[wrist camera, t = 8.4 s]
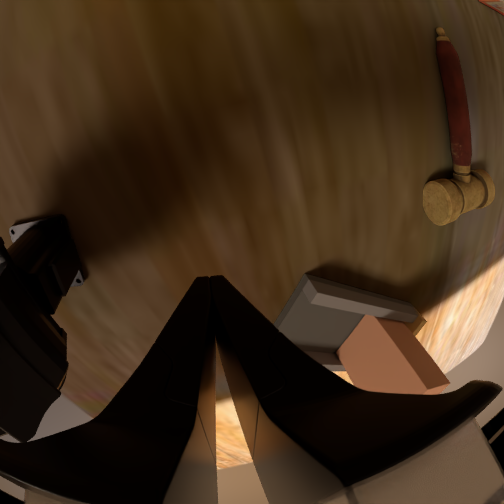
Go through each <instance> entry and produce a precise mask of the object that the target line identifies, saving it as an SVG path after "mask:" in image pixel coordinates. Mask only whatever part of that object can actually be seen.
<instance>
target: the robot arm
mask: <svg viewBox="0 0 504 504" xmlns="http://www.w3.org/2000/svg"><path fill="white" fill-rule="evenodd" d="M59 219H60V220H61V221H62V223H60V222H59ZM13 230H14V231H15V232H14V231H13ZM9 233H10V236H11V239H12V242H13V244H12V245H11V246H10V247H9V248H8V249H6V248H5V246H4V241H3V239H2V237H0V436H3V435H6V434H9V435H11V436H12V437H13V438H15V439H16V440H18V441H20V442H21V443H12V442H7V441H4V440H2V439H0V476H2V477H3V478H5V479H7V480H9V481H11V482H13V483H14V484H16V485H18V486H20V487H22V488H24V489H25V500H24V501H22V500H20V499H18V498H16V497H14V496H12V495H10V494H8V493H6V492H4V491H2V490H1V489H0V504H218V493H217V466H216V416H215V372H216V343H217V347H218V351H219V354H220V358H221V362H222V365H223V369H224V372H225V376H226V379H227V383H228V386H229V389H230V393H231V396H232V399H233V402H234V406H235V409H236V412H237V415H238V418H239V421H240V424H241V427H242V431H243V434H244V436H245V439H246V442H247V445H248V448H249V451H250V454H251V457H252V459H253V462H254V465H255V468H256V471H257V473H258V476H259V479H260V481H261V484H262V487H263V489H264V492H265V494H266V497H267V499H268V502H269V504H504V408H503V409H501V410H500V411H499V412H498V413H497V414H496V415H495V416H494V417H493V418H492V419H491V420H490V421H489V422H488V423H486V424H485V425H484V426H483V427H482V428H480V426H479V424H478V423H477V421H476V419H475V417H476V416H477V415H478V414H479V413H480V412H481V411H483V410H484V409H485V408H486V407H487V406H488V405H489V404H490V403H491V402H492V401H493V400H494V399H495V398H496V396H497V395H498V394H499V393H500V392H501V391H502V387H501V386H499V385H498V384H495V383H493V382H490V381H481V380H473V381H470V382H469V383H467V384H466V385H464V386H463V387H461V388H459V389H458V390H456V391H453V392H449V393H445V394H432V395H429V394H400V393H385V392H373V391H367V390H363V389H361V388H358V387H356V386H354V385H352V384H350V383H348V382H347V381H345V380H344V379H342V378H341V377H339V376H338V375H336V374H335V373H333V372H332V371H330V370H329V369H327V368H326V367H325V366H323V365H322V364H320V363H319V362H317V361H316V360H314V359H313V358H312V357H310V356H309V355H308V354H306V353H305V352H304V351H302V350H301V349H300V348H299V347H297V346H296V345H295V344H294V343H293V342H292V341H291V340H289V339H288V338H287V337H286V336H285V335H284V334H283V333H282V332H280V331H279V329H277V328H276V327H275V326H274V325H273V324H272V323H271V322H270V321H269V320H268V319H267V318H266V317H265V316H264V315H263V314H262V313H261V312H260V311H259V310H258V309H256V308H255V307H254V306H253V305H252V304H251V303H250V302H249V301H248V300H247V299H246V298H245V297H244V296H243V295H242V294H241V293H240V292H239V291H238V290H237V289H236V288H235V287H234V286H233V285H232V284H231V283H230V282H229V281H228V280H227V279H226V278H225V277H224V276H222V275H217V276H211V277H210V278H209V277H208V276H204V277H197V278H196V279H195V280H194V282H193V283H192V285H191V286H190V288H189V289H188V291H187V292H186V294H185V295H184V297H183V299H182V300H181V302H180V303H179V305H178V306H177V308H176V309H175V311H174V312H173V314H172V316H171V317H170V319H169V320H168V322H167V323H166V325H165V326H164V328H163V330H162V331H161V333H160V334H159V336H158V338H157V339H156V341H155V343H154V344H153V345H152V347H151V349H150V350H149V352H148V353H147V355H146V356H145V358H144V359H143V361H142V362H141V364H140V365H139V366H138V368H137V369H136V370H135V372H134V373H133V374H132V376H131V377H130V378H129V379H128V381H127V382H126V383H125V384H124V385H123V387H122V388H121V389H120V390H119V392H118V393H117V394H116V395H115V397H114V398H113V399H112V400H111V402H110V403H109V404H108V405H107V406H106V408H105V409H104V410H103V411H102V412H101V413H100V414H99V415H98V416H97V417H95V418H94V419H92V420H91V421H89V422H87V423H85V424H82V425H79V426H76V427H74V428H71V429H68V430H65V431H62V432H59V433H56V434H53V435H50V436H47V437H44V438H41V439H38V440H34V441H30V442H27V441H28V440H30V439H31V438H33V436H34V435H35V434H36V431H37V429H38V427H39V424H40V422H41V420H42V418H43V416H44V414H45V412H46V411H47V410H48V408H49V407H50V406H51V404H52V403H53V402H54V401H55V400H56V399H58V397H60V395H61V392H60V389H61V388H62V386H63V384H64V381H65V379H66V375H67V370H68V364H69V363H68V361H67V333H66V332H65V331H64V329H63V328H60V327H59V325H58V324H57V323H56V322H55V320H54V319H53V318H52V317H51V315H53V314H54V313H55V311H56V309H57V307H58V305H59V303H60V301H61V299H62V297H63V296H66V294H67V292H68V290H69V288H70V287H72V286H81V285H83V283H84V281H85V278H84V275H83V272H82V270H81V263H80V260H79V257H78V254H77V251H76V247H75V244H74V241H73V239H72V238H71V235H70V232H69V228H68V225H67V221H66V218H65V216H64V215H62V214H59V215H54V216H50V217H45V218H41V219H36V220H32V221H27V222H23V223H19V224H15V225H12V226H11V227H10V229H9ZM77 278H78V279H80V280H81V281H79V280H78V279H77ZM215 337H216V340H215Z"/></svg>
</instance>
